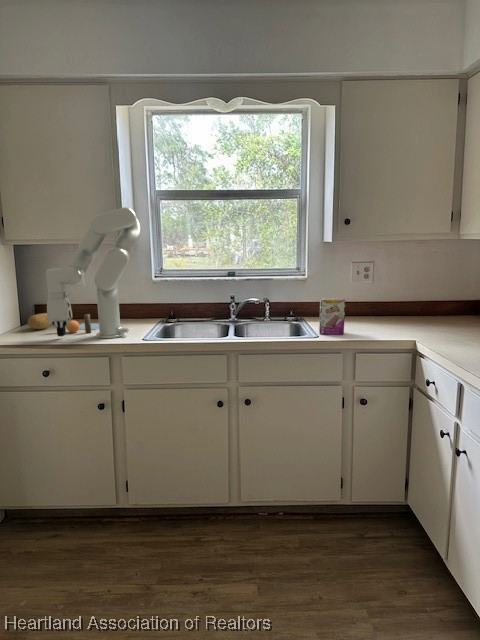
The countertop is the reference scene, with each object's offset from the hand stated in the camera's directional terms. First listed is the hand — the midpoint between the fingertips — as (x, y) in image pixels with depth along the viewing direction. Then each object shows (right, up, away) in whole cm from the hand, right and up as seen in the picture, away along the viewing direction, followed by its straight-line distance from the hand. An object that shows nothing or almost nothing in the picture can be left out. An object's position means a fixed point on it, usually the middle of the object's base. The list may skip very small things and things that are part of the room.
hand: (61, 335), depth 199 cm
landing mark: (+3, +4, +27) cm, 27 cm away
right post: (+8, +1, +12) cm, 15 cm away
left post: (-5, +1, +14) cm, 15 cm away
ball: (0, +4, +13) cm, 13 cm away
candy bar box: (+125, +1, +4) cm, 125 cm away
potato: (-19, +2, +23) cm, 30 cm away
